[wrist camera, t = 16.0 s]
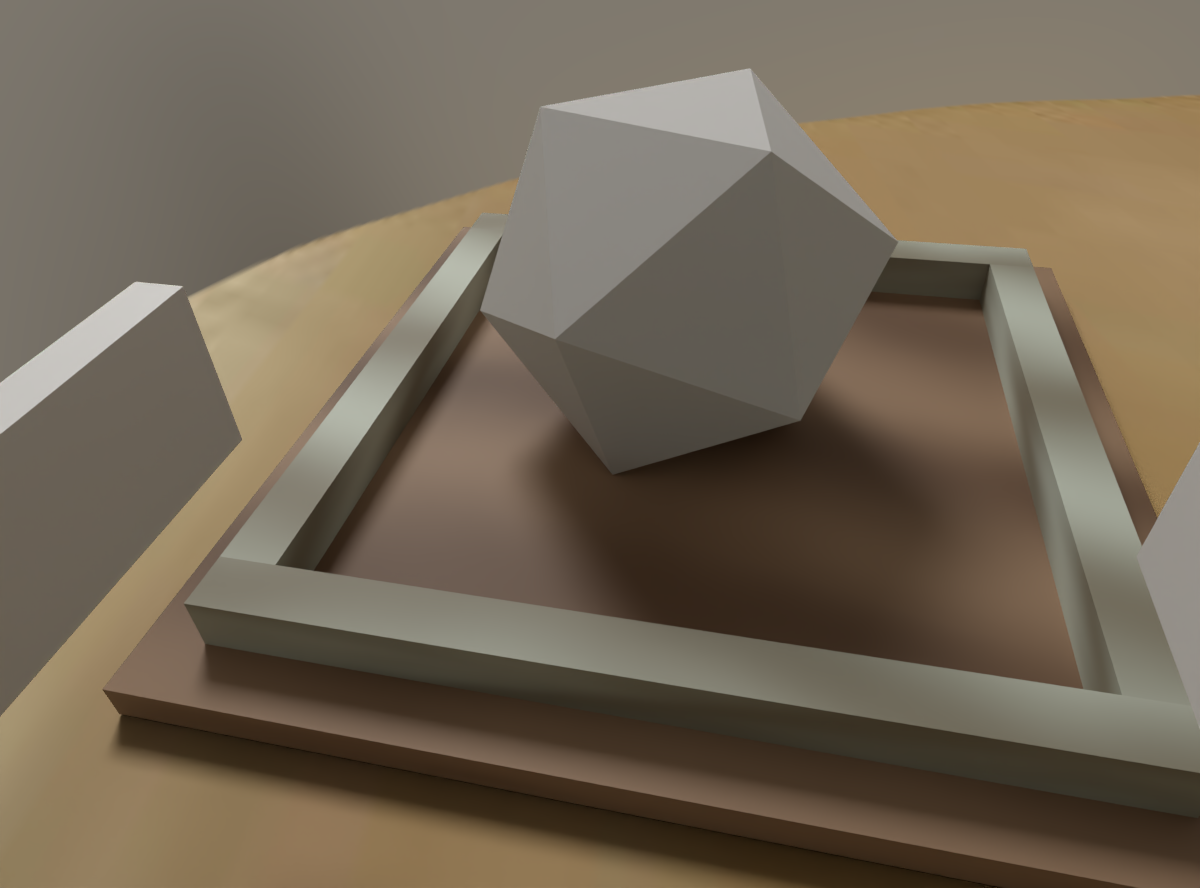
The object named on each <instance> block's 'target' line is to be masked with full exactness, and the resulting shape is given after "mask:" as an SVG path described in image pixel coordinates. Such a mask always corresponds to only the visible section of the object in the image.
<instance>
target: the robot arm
mask: <svg viewBox="0 0 1200 888" xmlns="http://www.w3.org/2000/svg"><path fill="white" fill-rule="evenodd" d="M241 440H242V438H241V435H240V433H239V430H238V427H237V425H236V422H235V420H234V417H233V414H232V412H231V409H230V407H229V404H228V401H227V399H226V396H225V394H224V391H223V388H222V386H221V383H220V381H219V378H218V375H217V373H216V370H215V368H214V365H213V362H212V360H211V357H210V355H209V352H208V350H207V347H206V344H205V342H204V339H203V337H202V334H201V331H200V329H199V326H198V324H197V321H196V318H195V316H194V313H193V311H192V308H191V305H190V303H189V300H188V298H187V295H186V293H185V290H184V287H183V286H174V285H163V284H152V283H142V282H135V283H133V284H132V285H131V286H129V287H128V288H127V289H125V290H124V291H123V292H121V293H120V294H118V295H117V296H116V297H114V298H113V299H112V300H110V301H109V302H108V303H107V304H105V305H104V306H102V307H101V308H100V309H98V310H97V311H96V312H95V313H93V314H92V315H90V316H89V317H88V318H87V319H85V320H84V321H82V322H81V323H80V324H78V325H77V326H76V327H74V328H73V329H72V330H70V331H69V332H68V333H66V334H65V335H64V336H62V337H61V338H60V339H58V340H57V341H56V342H54V343H53V344H52V345H50V346H49V347H48V348H46V349H45V350H44V351H42V352H41V353H40V354H38V355H37V356H36V357H34V358H33V359H32V360H30V361H29V362H28V363H26V364H25V365H23V366H22V367H21V368H19V369H18V370H17V371H15V372H14V373H13V374H11V375H10V376H9V377H7V378H6V379H5V380H3V381H2V382H1V383H0V716H1V715H2V714H3V713H4V711H5V710H6V709H7V708H8V707H9V706H10V705H11V703H12V702H13V701H14V700H15V699H16V698H17V697H18V695H19V694H20V693H21V692H22V691H23V690H24V689H25V687H26V686H27V685H28V684H29V683H30V682H31V681H32V679H33V678H34V677H35V676H36V675H37V674H38V673H39V671H40V670H41V669H42V668H43V667H44V666H45V665H46V663H47V662H48V661H49V660H50V659H51V658H52V657H53V655H54V654H55V653H56V652H57V651H58V650H59V649H60V647H61V646H62V645H63V644H64V643H65V642H66V641H67V639H68V638H69V637H70V636H71V635H72V634H73V633H74V631H75V630H76V629H77V628H78V627H79V626H80V625H81V623H82V622H83V621H84V620H85V619H86V618H87V617H88V615H89V614H90V613H91V612H92V611H93V610H94V609H95V607H96V606H97V605H98V604H99V603H100V602H101V601H102V599H103V598H104V597H105V596H106V595H107V594H108V593H109V591H110V590H111V589H112V588H113V587H114V586H115V585H116V583H117V582H118V581H119V580H120V579H121V578H122V577H123V575H124V574H125V573H126V572H127V571H128V570H129V569H130V567H131V566H132V565H133V564H134V563H135V562H136V561H137V559H138V558H139V557H140V556H141V555H142V554H143V552H144V551H145V550H146V549H147V548H148V547H149V546H150V544H151V543H152V542H153V541H154V540H155V539H156V538H157V536H158V535H159V534H160V533H161V532H162V531H163V530H164V528H165V527H166V526H167V525H168V524H169V523H170V522H171V520H172V519H173V518H174V517H175V516H176V515H177V514H178V512H179V511H180V510H181V509H182V508H183V507H184V506H185V504H186V503H187V502H188V501H189V500H190V499H191V498H192V496H193V495H194V494H195V493H196V492H197V491H198V490H199V488H200V487H201V486H202V485H203V484H204V483H205V482H206V480H207V479H208V478H209V477H210V476H211V475H212V474H213V472H214V471H215V470H216V469H217V468H218V467H219V466H220V464H221V463H222V462H223V461H224V460H225V459H226V458H227V456H228V455H229V454H230V453H231V452H232V451H233V450H234V448H235V447H236V446H237V445H238V444H239V443H240V442H241ZM1136 557H1137V560H1138V563H1139V565H1140V568H1141V571H1142V573H1143V576H1144V579H1145V582H1146V584H1147V587H1148V590H1149V592H1150V595H1151V598H1152V601H1153V603H1154V606H1155V609H1156V611H1157V614H1158V617H1159V620H1160V622H1161V625H1162V628H1163V631H1164V633H1165V636H1166V639H1167V641H1168V644H1169V647H1170V650H1171V652H1172V655H1173V658H1174V660H1175V663H1176V666H1177V669H1178V671H1179V674H1180V677H1181V679H1182V682H1183V685H1184V688H1185V690H1186V693H1187V696H1188V699H1189V701H1190V704H1191V707H1192V709H1193V712H1194V715H1195V718H1196V720H1197V723H1198V726H1199V728H1200V443H1199V445H1198V447H1197V448H1196V450H1195V452H1194V454H1193V456H1192V457H1191V459H1190V461H1189V463H1188V465H1187V466H1186V468H1185V470H1184V472H1183V474H1182V475H1181V477H1180V479H1179V481H1178V483H1177V484H1176V486H1175V488H1174V490H1173V492H1172V493H1171V495H1170V497H1169V499H1168V501H1167V502H1166V504H1165V506H1164V508H1163V510H1162V511H1161V513H1160V515H1159V517H1158V519H1157V520H1156V522H1155V524H1154V526H1153V528H1152V529H1151V531H1150V533H1149V535H1148V537H1147V538H1146V540H1145V542H1144V544H1143V545H1142V547H1141V549H1140V551H1139V553H1138V554H1137V556H1136Z"/></svg>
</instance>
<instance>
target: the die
mask: <svg viewBox="0 0 1200 888" xmlns="http://www.w3.org/2000/svg"><path fill="white" fill-rule="evenodd" d="M897 244H898V241H897V240H896V239H895V237H894V236H893V235H892V234H891V233H890V232H889V230H888V229H887V228H886V227H885V226H884V225H883V223H882V222H881V221H880V220H879V219H878V218H877V216H876V215H875V214H874V213H873V212H872V211H871V209H870V208H869V207H868V206H867V205H866V203H865V202H864V201H863V200H862V199H861V198H860V196H859V195H858V194H857V193H856V192H855V191H854V189H853V188H852V187H851V186H850V185H849V184H848V182H847V181H846V180H845V179H844V178H843V177H842V175H841V174H840V173H839V172H838V171H837V170H836V168H835V167H834V166H833V165H832V164H831V162H830V161H829V160H828V159H827V158H826V157H825V155H824V154H823V153H822V152H821V151H820V150H819V148H818V147H817V146H816V145H815V144H814V143H813V141H812V140H811V139H810V138H809V137H808V136H807V134H806V133H805V132H804V131H803V130H802V128H801V127H800V126H799V125H798V124H797V123H796V121H795V120H794V119H793V118H792V117H791V116H790V114H788V112H787V111H786V110H785V109H784V107H783V106H782V105H781V104H780V103H779V102H778V100H777V99H776V98H775V97H774V96H773V95H772V93H771V92H770V91H769V90H768V89H767V87H766V86H765V85H764V84H763V83H762V82H761V80H760V79H759V78H758V77H757V76H756V75H755V73H754V72H753V71H752V70H751V69H744V70H739V71H733V72H728V73H723V74H718V75H712V76H706V77H701V78H695V79H690V80H684V81H679V82H673V83H668V84H662V85H657V86H652V87H646V88H640V89H635V90H629V91H624V92H619V93H613V94H608V95H602V96H596V97H591V98H585V99H580V100H575V101H569V102H564V103H558V104H553V105H547V106H542V107H540V110H539V113H538V117H537V120H536V123H535V127H534V130H533V133H532V137H531V140H530V144H529V147H528V150H527V154H526V157H525V161H524V164H523V167H522V171H521V174H520V177H519V181H518V184H517V187H516V191H515V194H514V198H513V201H512V204H511V208H510V211H509V214H508V218H507V221H506V225H505V228H504V231H503V235H502V238H501V242H500V245H499V248H498V252H497V255H496V258H495V262H494V265H493V269H492V272H491V275H490V279H489V282H488V285H487V289H486V292H485V296H484V299H483V302H482V306H481V309H480V311H481V312H482V313H483V315H484V316H485V317H486V318H487V319H488V321H489V322H490V323H491V324H492V326H493V327H494V328H495V329H496V331H497V332H498V333H499V334H500V336H501V337H502V338H503V339H504V341H505V342H506V343H507V344H508V346H509V347H510V348H511V349H512V351H513V352H514V353H515V354H516V355H517V357H518V358H519V359H520V360H521V362H522V363H523V364H524V365H525V367H526V368H527V369H528V370H529V372H530V373H531V374H532V375H533V377H534V378H535V379H536V380H537V382H538V383H539V384H540V385H541V387H542V388H543V389H544V390H545V391H546V393H547V394H548V395H549V396H550V398H551V399H552V400H553V401H554V403H555V404H556V405H557V406H558V408H559V409H560V410H561V411H562V413H563V414H564V415H565V416H566V418H567V419H568V420H569V421H570V422H571V424H572V425H573V426H574V427H575V429H576V430H577V431H578V432H579V434H580V435H581V436H582V437H583V439H584V440H585V441H586V442H587V444H588V445H589V446H590V447H591V449H592V450H593V451H594V452H595V454H596V455H597V456H598V457H599V458H600V460H601V461H602V462H603V463H604V465H605V466H606V467H607V468H608V470H609V471H610V472H611V473H612V475H614V474H617V473H621V472H624V471H628V470H631V469H635V468H638V467H641V466H645V465H648V464H652V463H655V462H659V461H662V460H666V459H669V458H673V457H676V456H680V455H683V454H687V453H690V452H693V451H697V450H700V449H704V448H707V447H711V446H714V445H718V444H721V443H725V442H728V441H732V440H735V439H739V438H742V437H745V436H749V435H752V434H756V433H759V432H763V431H766V430H770V429H773V428H777V427H780V426H784V425H787V424H791V423H794V422H797V421H801V419H802V417H803V415H804V413H805V411H806V410H807V408H808V406H809V404H810V402H811V401H812V399H813V397H814V395H815V393H816V391H817V390H818V388H819V386H820V384H821V382H822V380H823V379H824V377H825V375H826V373H827V371H828V370H829V368H830V366H831V364H832V362H833V360H834V359H835V357H836V355H837V353H838V351H839V349H840V348H841V346H842V344H843V342H844V340H845V339H846V337H847V335H848V333H849V331H850V329H851V328H852V326H853V324H854V322H855V320H856V318H857V317H858V315H859V313H860V311H861V309H862V308H863V306H864V304H865V302H866V300H867V298H868V297H869V295H870V293H871V291H872V289H873V287H874V286H875V284H876V282H877V280H878V278H879V277H880V275H881V273H882V271H883V269H884V267H885V266H886V264H887V262H888V260H889V258H890V256H891V255H892V253H893V251H894V249H895V247H896V246H897Z"/></svg>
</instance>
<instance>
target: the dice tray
mask: <svg viewBox="0 0 1200 888" xmlns="http://www.w3.org/2000/svg"><path fill="white" fill-rule="evenodd" d="M507 218H508V214H493V213H482V214H481V215H480V217H479V218H478V219H477V221H476V222H475V223H474V225H473V226H472V227H463V229H462V230H461V231H460V232H459V234H458V235H457V236H456V238H455V239H454V240H453V241H452V243H451V244H450V245H449V246H448V248H447V249H446V250H445V252H444V253H443V254H442V255H441V257H440V258H439V259H438V261H437V262H436V263H435V264H434V266H433V267H432V268H431V270H430V271H429V272H428V273H427V275H426V276H425V277H424V278H423V280H422V281H421V282H420V284H419V285H418V286H417V287H416V289H415V290H414V291H413V293H412V294H411V295H410V296H409V298H408V299H407V300H406V302H405V303H404V304H403V305H402V307H401V308H400V309H399V310H398V312H397V313H396V314H395V316H394V317H393V318H392V319H391V321H390V322H389V323H388V325H387V326H386V327H385V328H384V330H383V331H382V332H381V334H380V335H379V336H378V337H377V339H376V340H375V341H374V342H373V344H372V345H371V346H370V348H369V349H368V350H367V351H366V353H365V354H364V355H363V357H362V358H361V359H360V360H359V362H358V363H357V364H356V366H355V367H354V368H353V369H352V371H351V372H350V373H349V374H348V376H347V377H346V378H345V380H344V381H343V382H342V383H341V385H340V386H339V387H338V389H337V390H336V391H335V392H334V394H333V395H332V396H331V398H330V399H329V400H328V401H327V403H326V404H325V405H324V406H323V408H322V409H321V410H320V412H319V413H318V414H317V415H316V417H315V418H314V419H313V421H312V422H311V423H310V424H309V426H308V427H307V428H306V430H305V431H304V432H303V433H302V435H301V436H300V437H299V438H298V440H297V441H296V442H295V444H294V445H293V446H292V447H291V449H290V450H289V451H288V453H287V454H286V455H285V456H284V458H283V459H282V460H281V462H280V463H279V464H278V465H277V467H276V468H275V469H274V470H273V472H272V473H271V474H270V476H269V477H268V478H267V479H266V481H265V482H264V483H263V485H262V486H261V487H260V488H259V490H258V491H257V492H256V494H255V495H254V496H253V497H252V499H251V500H250V501H249V502H248V504H247V505H246V506H245V508H244V509H243V510H242V511H241V513H240V514H239V515H238V517H237V518H236V519H235V520H234V522H233V523H232V524H231V525H230V527H229V528H228V529H227V531H226V532H225V533H224V534H223V536H222V537H221V538H220V540H219V541H218V542H217V543H216V545H215V546H214V547H213V549H212V550H211V551H210V552H209V554H208V555H207V556H206V557H205V559H204V560H203V561H202V563H201V564H200V565H199V566H198V568H197V569H196V570H195V572H194V573H193V574H192V575H191V577H190V578H189V579H188V581H187V582H186V583H185V584H184V586H183V587H182V588H181V589H180V591H179V592H178V593H177V595H176V596H175V597H174V598H173V600H172V601H171V602H170V604H169V605H168V606H167V607H166V609H165V610H164V611H163V613H162V614H161V615H160V616H159V618H158V619H157V620H156V621H155V623H154V624H153V625H152V627H151V628H150V629H149V630H148V632H147V633H146V634H145V636H144V637H143V638H142V639H141V641H140V642H139V643H138V645H137V646H136V647H135V648H134V650H133V651H132V652H131V653H130V655H129V656H128V657H127V659H126V660H125V661H124V662H123V664H122V665H121V666H120V668H119V669H118V670H117V671H116V673H115V674H114V675H113V677H112V678H111V679H110V680H109V682H108V683H107V684H106V685H105V687H104V688H103V691H104V692H105V694H106V695H107V697H108V698H109V700H110V701H111V702H112V704H113V705H114V707H115V708H116V710H117V711H118V713H119V714H122V715H128V716H133V717H138V718H143V719H148V720H153V721H158V722H163V723H168V724H173V725H178V726H183V727H189V728H194V729H199V730H204V731H209V732H214V733H219V734H224V735H229V736H234V737H239V738H244V739H250V740H255V741H260V742H265V743H270V744H275V745H280V746H285V747H290V748H295V749H300V750H305V751H310V752H316V753H321V754H326V755H331V756H336V757H341V758H346V759H351V760H356V761H361V762H366V763H371V764H377V765H382V766H387V767H392V768H397V769H402V770H407V771H412V772H417V773H422V774H427V775H432V776H438V777H443V778H448V779H453V780H458V781H463V782H468V783H473V784H478V785H483V786H488V787H493V788H499V789H504V790H509V791H514V792H519V793H524V794H529V795H534V796H539V797H544V798H549V799H554V800H559V801H565V802H570V803H575V804H580V805H585V806H590V807H595V808H600V809H605V810H610V811H615V812H620V813H626V814H631V815H636V816H641V817H646V818H651V819H656V820H661V821H666V822H671V823H676V824H681V825H687V826H692V827H697V828H702V829H707V830H712V831H717V832H722V833H727V834H732V835H737V836H742V837H748V838H753V839H758V840H763V841H768V842H773V843H778V844H783V845H788V846H793V847H798V848H803V849H809V850H814V851H819V852H824V853H829V854H834V855H839V856H844V857H849V858H854V859H859V860H864V861H869V862H875V863H880V864H885V865H890V866H895V867H900V868H905V869H910V870H915V871H920V872H925V873H930V874H936V875H941V876H946V877H951V878H956V879H961V880H966V881H971V882H976V883H981V884H986V885H991V886H997V887H1002V888H1200V728H1199V726H1198V723H1197V720H1196V718H1195V715H1194V712H1193V709H1192V707H1191V704H1190V701H1189V699H1188V696H1187V693H1186V690H1185V688H1184V685H1183V682H1182V679H1181V677H1180V674H1179V671H1178V669H1177V666H1176V663H1175V660H1174V658H1173V655H1172V652H1171V650H1170V647H1169V644H1168V641H1167V639H1166V636H1165V633H1164V631H1163V628H1162V625H1161V622H1160V620H1159V617H1158V614H1157V611H1156V609H1155V606H1154V603H1153V601H1152V598H1151V595H1150V592H1149V590H1148V587H1147V584H1146V582H1145V579H1144V576H1143V573H1142V571H1141V568H1140V565H1139V563H1138V560H1137V557H1136V556H1137V554H1138V553H1139V551H1140V549H1141V547H1142V545H1143V544H1144V542H1145V540H1146V538H1147V537H1148V535H1149V533H1150V531H1151V529H1152V528H1153V526H1154V524H1155V522H1156V520H1157V517H1156V514H1155V512H1154V510H1153V507H1152V505H1151V503H1150V500H1149V498H1148V495H1147V493H1146V491H1145V488H1144V486H1143V484H1142V481H1141V479H1140V477H1139V474H1138V472H1137V470H1136V467H1135V465H1134V462H1133V460H1132V458H1131V455H1130V453H1129V451H1128V448H1127V446H1126V444H1125V441H1124V439H1123V436H1122V434H1121V432H1120V429H1119V427H1118V425H1117V422H1116V420H1115V418H1114V415H1113V413H1112V411H1111V408H1110V406H1109V403H1108V401H1107V399H1106V396H1105V394H1104V392H1103V389H1102V387H1101V385H1100V382H1099V380H1098V377H1097V375H1096V373H1095V370H1094V368H1093V366H1092V363H1091V361H1090V359H1089V356H1088V354H1087V352H1086V349H1085V347H1084V344H1083V342H1082V340H1081V337H1080V335H1079V333H1078V330H1077V328H1076V326H1075V323H1074V321H1073V319H1072V316H1071V314H1070V311H1069V309H1068V307H1067V304H1066V302H1065V300H1064V297H1063V295H1062V293H1061V290H1060V288H1059V285H1058V283H1057V281H1056V278H1055V276H1054V274H1053V271H1052V269H1051V268H1043V267H1033V265H1032V263H1031V260H1030V258H1029V255H1028V252H1027V250H1026V249H1019V248H1004V247H989V246H974V245H959V244H944V243H929V242H914V241H899V240H897V241H898V244H897V246H896V247H895V249H894V251H893V253H892V255H891V256H890V258H889V260H888V262H887V264H886V266H885V267H884V269H883V271H882V273H881V275H880V277H879V278H878V280H877V282H876V284H875V286H874V287H873V289H872V291H871V293H870V295H869V297H868V298H867V300H866V302H865V304H864V306H863V308H862V309H861V311H860V313H859V315H858V317H857V318H856V320H855V322H854V324H853V326H852V328H851V329H850V331H849V333H848V335H847V337H846V339H845V340H844V342H843V344H842V346H841V348H840V349H839V351H838V353H837V355H836V357H835V359H834V360H833V362H832V364H831V366H830V368H829V370H828V371H827V373H826V375H825V377H824V379H823V380H822V382H821V384H820V386H819V388H818V390H817V391H816V393H815V395H814V397H813V399H812V401H811V402H810V404H809V406H808V408H807V410H806V411H805V413H804V415H803V417H802V419H801V421H797V422H794V423H791V424H787V425H784V426H780V427H777V428H773V429H770V430H766V431H763V432H759V433H756V434H752V435H749V436H745V437H742V438H739V439H735V440H732V441H728V442H725V443H721V444H718V445H714V446H711V447H707V448H704V449H700V450H697V451H693V452H690V453H687V454H683V455H680V456H676V457H673V458H669V459H666V460H662V461H659V462H655V463H652V464H648V465H645V466H641V467H638V468H635V469H631V470H628V471H624V472H621V473H617V474H614V475H612V473H611V472H610V471H609V470H608V468H607V467H606V466H605V465H604V463H603V462H602V461H601V460H600V458H599V457H598V456H597V455H596V454H595V452H594V451H593V450H592V449H591V447H590V446H589V445H588V444H587V442H586V441H585V440H584V439H583V437H582V436H581V435H580V434H579V432H578V431H577V430H576V429H575V427H574V426H573V425H572V424H571V422H570V421H569V420H568V419H567V418H566V416H565V415H564V414H563V413H562V411H561V410H560V409H559V408H558V406H557V405H556V404H555V403H554V401H553V400H552V399H551V398H550V396H549V395H548V394H547V393H546V391H545V390H544V389H543V388H542V387H541V385H540V384H539V383H538V382H537V380H536V379H535V378H534V377H533V375H532V374H531V373H530V372H529V370H528V369H527V368H526V367H525V365H524V364H523V363H522V362H521V360H520V359H519V358H518V357H517V355H516V354H515V353H514V352H513V351H512V349H511V348H510V347H509V346H508V344H507V343H506V342H505V341H504V339H503V338H502V337H501V336H500V334H499V333H498V332H497V331H496V329H495V328H494V327H493V326H492V324H491V323H490V322H489V321H488V319H487V318H486V317H485V316H484V315H483V313H482V312H481V311H480V309H481V306H482V302H483V299H484V296H485V292H486V289H487V285H488V282H489V279H490V275H491V272H492V269H493V265H494V262H495V258H496V255H497V252H498V248H499V245H500V242H501V238H502V235H503V231H504V228H505V225H506V221H507Z"/></svg>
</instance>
